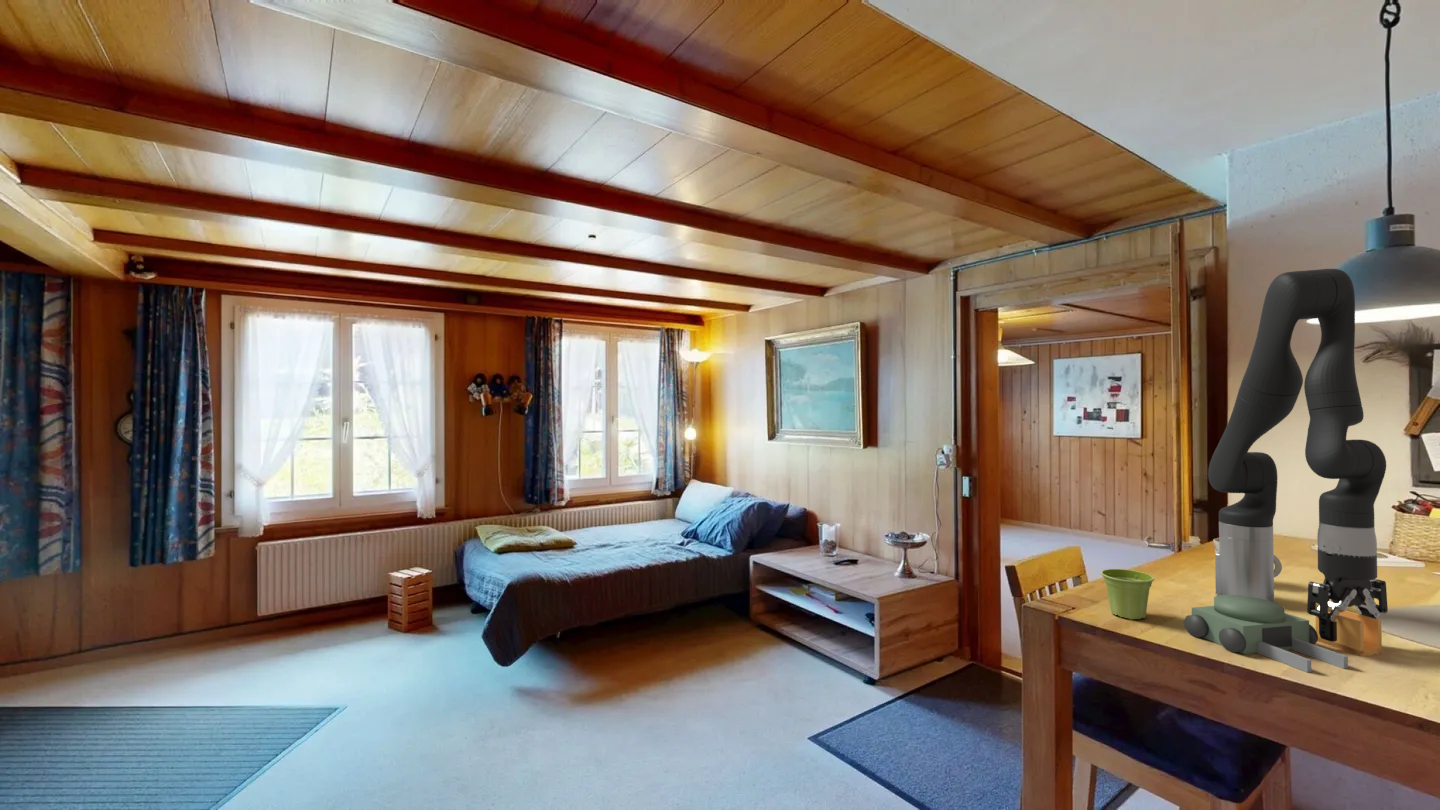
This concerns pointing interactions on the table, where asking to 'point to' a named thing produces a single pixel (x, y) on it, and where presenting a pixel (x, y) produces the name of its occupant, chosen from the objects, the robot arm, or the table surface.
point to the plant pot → (1127, 592)
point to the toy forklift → (1259, 631)
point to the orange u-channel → (1356, 634)
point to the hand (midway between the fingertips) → (1347, 638)
